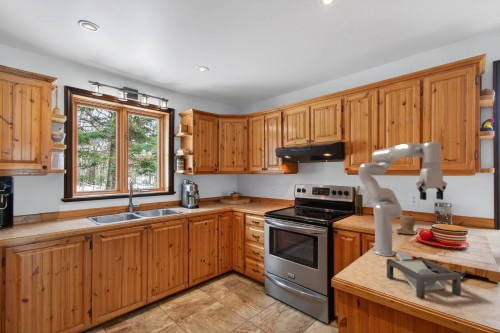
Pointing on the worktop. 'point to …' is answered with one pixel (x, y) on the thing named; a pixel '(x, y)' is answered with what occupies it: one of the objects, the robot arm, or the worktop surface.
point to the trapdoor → (415, 270)
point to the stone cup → (406, 225)
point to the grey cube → (425, 272)
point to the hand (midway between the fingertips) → (431, 199)
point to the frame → (427, 276)
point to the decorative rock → (441, 272)
